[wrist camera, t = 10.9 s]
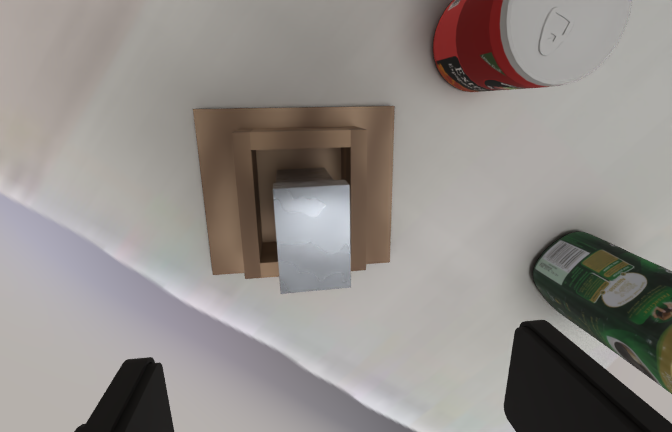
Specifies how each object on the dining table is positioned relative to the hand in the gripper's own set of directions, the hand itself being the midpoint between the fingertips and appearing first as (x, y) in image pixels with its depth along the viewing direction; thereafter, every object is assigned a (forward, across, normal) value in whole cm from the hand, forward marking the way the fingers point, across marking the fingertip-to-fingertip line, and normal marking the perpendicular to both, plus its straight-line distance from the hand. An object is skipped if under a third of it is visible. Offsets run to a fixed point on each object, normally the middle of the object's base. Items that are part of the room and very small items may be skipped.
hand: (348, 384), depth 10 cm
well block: (+24, 0, 0) cm, 24 cm away
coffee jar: (+24, -28, +10) cm, 38 cm away
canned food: (+24, -15, -12) cm, 31 cm away
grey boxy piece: (+23, 0, 0) cm, 23 cm away
